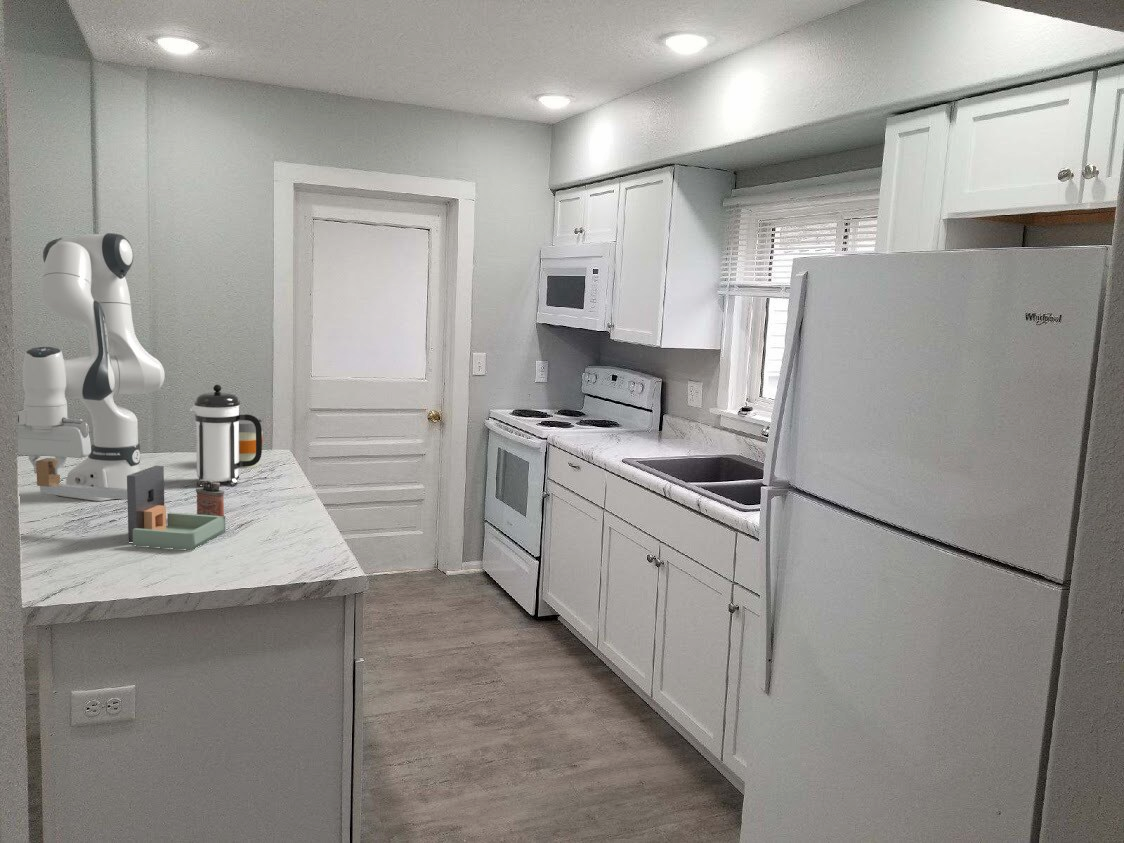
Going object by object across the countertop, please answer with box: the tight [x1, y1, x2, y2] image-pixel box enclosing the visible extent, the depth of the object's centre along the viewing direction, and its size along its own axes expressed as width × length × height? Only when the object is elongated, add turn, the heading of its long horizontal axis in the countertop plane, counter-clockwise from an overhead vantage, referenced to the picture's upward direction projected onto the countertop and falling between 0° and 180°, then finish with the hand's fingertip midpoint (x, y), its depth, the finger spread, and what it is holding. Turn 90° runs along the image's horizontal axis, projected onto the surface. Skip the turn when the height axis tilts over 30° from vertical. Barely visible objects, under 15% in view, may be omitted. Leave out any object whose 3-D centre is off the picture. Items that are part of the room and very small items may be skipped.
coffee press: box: [189, 384, 263, 487], centre depth 264 cm, size 17×16×30 cm
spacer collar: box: [144, 505, 167, 530], centre depth 207 cm, size 2×6×6 cm, turn 175°
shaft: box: [36, 457, 149, 500], centre depth 207 cm, size 26×4×8 cm, turn 85°
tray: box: [132, 511, 226, 551], centre depth 207 cm, size 14×16×4 cm
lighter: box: [195, 479, 225, 516], centre depth 226 cm, size 8×3×10 cm, turn 71°
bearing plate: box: [126, 465, 165, 543], centre depth 207 cm, size 2×12×16 cm, turn 175°
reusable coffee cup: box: [239, 418, 265, 469], centre depth 290 cm, size 13×13×15 cm
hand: (48, 473), depth 208 cm, fingers closed on shaft, 3 cm apart
